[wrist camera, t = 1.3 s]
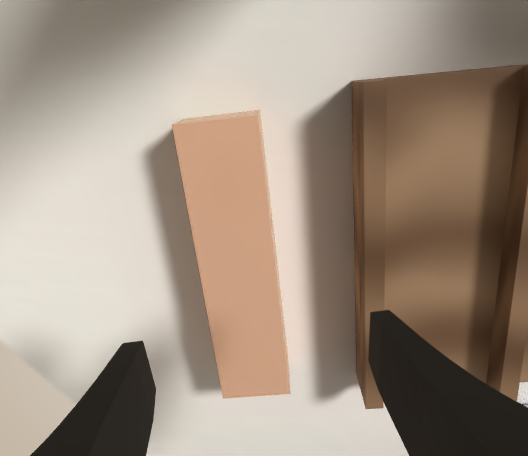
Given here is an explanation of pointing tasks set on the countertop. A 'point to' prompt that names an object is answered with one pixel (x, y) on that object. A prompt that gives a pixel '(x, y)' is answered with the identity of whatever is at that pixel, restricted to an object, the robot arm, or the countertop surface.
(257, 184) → the clay strip
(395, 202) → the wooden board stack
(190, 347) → the countertop surface
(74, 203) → the countertop surface
